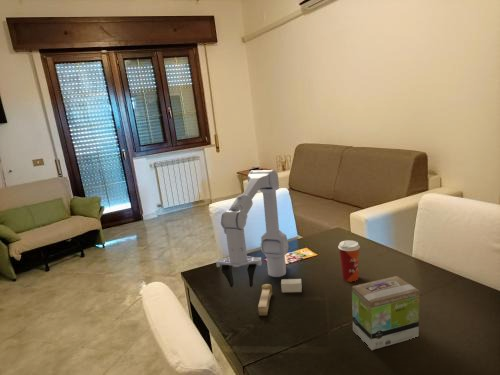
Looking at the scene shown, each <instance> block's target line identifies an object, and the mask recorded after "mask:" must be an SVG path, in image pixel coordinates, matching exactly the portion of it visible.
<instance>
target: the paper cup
mask: <svg viewBox="0 0 500 375" xmlns="http://www.w3.org/2000/svg"><path fill="white" fill-rule="evenodd" d="M337 247H338V249H339V256H340V267H341V273H342V274H341V275H342V279H343V281H345V282H347V281H348V283H353V282H352V281H355V282H357V281H358V280H359V267H360V266H359V264H360V263H359V262H360V248H361V246H360V244H359V242H358V241H356V240H342V241H340V242H339V244H338V246H337ZM356 280H357V281H356Z"/></svg>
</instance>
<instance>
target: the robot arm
mask: <svg viewBox="0 0 500 375" xmlns="http://www.w3.org/2000/svg"><path fill="white" fill-rule="evenodd" d="M277 190H280V183H279V174H278V172H276V170H275V169H270V170H269V169H268V170H266V169H265V170H253V169H251V170H250V171H249V172H248V175H247V184H246V187H245V188H244V191H242V192H243V193H242V194H241V193H240V194H238V195H237V197H236V198H235V200H234V201H233V202H232V205H230V207H229V209H228V210H225V211H224V212H223V213H222V214H221V218H220V225H221V228H222V229H223V233H224V234H225V235H226V241H227V250H228V257H224V258H217V260H216V261H215V263H216V264H215V265H216V268H220V267H221V269H220V270H221V273H222V274H223V275H224V276H225V278H226V281H228V284H229V287H230V288H234V285H235V284H234V277H233V268H240V267H241V266H247V275H248V279H249V280H248V281H249V282H248V283H249V288H253V286H254V285H253V284H254V274H255V272H256V271H255V270H256V268H257V266H259V267H260V266H262V263H263V262H262V257H257V256H256V257H254V256H248V254H247V253H248V252H247V245H246V244H247V243H246V236H245V235H246V234H245V227H246V225H247V219H248V213H250V210H251V208H252V207H253V204H254V201H253V198H254V197H255V196H256V195H257V193H258V192H261V193H262V197H263V199H262V200H263V208H264V209H263V210H264V217H265V219H264V221H265V232H263V234H262V235H261V237H260V238H261V239H260V240H261V241H260V249H261V250H260V251H261V252H262V254H264V256H265V257H266V264H267V265H266V266H267V274H268V276H270V277H273V278H280V277H283V276H285V275H286V274H287V266H286V255H287V253H288V252H289V242H288V238H287V235H286V234H285V233H284V232H282V231H281V230H280V227H279V213H278V202H277Z"/></svg>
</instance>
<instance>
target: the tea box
mask: <svg viewBox="0 0 500 375" xmlns="http://www.w3.org/2000/svg"><path fill="white" fill-rule="evenodd" d="M351 307H352V310H351V312H352V331H353V332H354V333H355V334H356V336H357V335H358V336H359V337H360V338H361V339H360V338H359V337H358V336H357V337H358V338H359V339H360V340H361V341H362V342H363V343H364V342H365V343H366V344H367V345H368V346H367V345H366V344H365V343H364V344H365V345H366V346H367V347H368V348H369V350H370V351H375V350H377V349H381V348H384V347H388V346H391V345H395V344H398V343H402V342H405V341H409V339H410V340H413V339H412V338H414V339H416V338H415V337H418V336H419V332H420V330H419V329H420V290H419V289H418V288H416V287H414V286H413V285H412V284H410V283H409V282H407V281H405V280H404V279H402V278H401V277H399V276H398V275H395V276H390V277H386V278H381V279H377V280H372V281H368V282H365V283H364V282H363V283H359V284H355V285H352V286H351ZM418 338H419V337H418Z"/></svg>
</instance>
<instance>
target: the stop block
mask: <svg viewBox="0 0 500 375" xmlns="http://www.w3.org/2000/svg"><path fill="white" fill-rule="evenodd" d="M302 285H303V284H302V278H288V279H287V278H284V279H282V278H281V281H280V286H281V293H302V289H303V287H302Z"/></svg>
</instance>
